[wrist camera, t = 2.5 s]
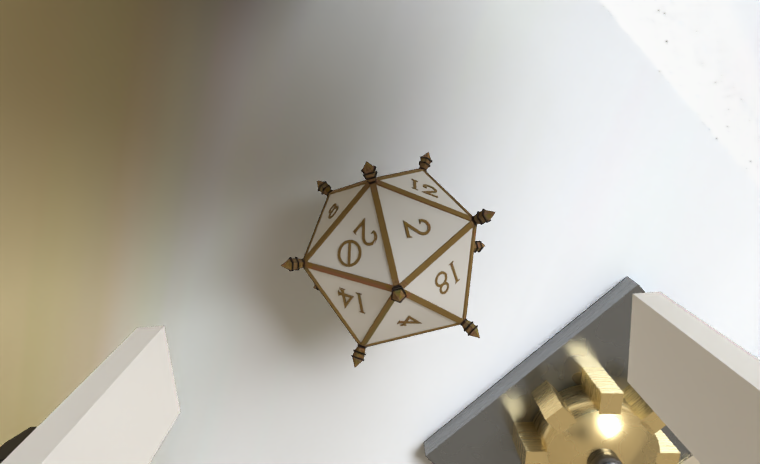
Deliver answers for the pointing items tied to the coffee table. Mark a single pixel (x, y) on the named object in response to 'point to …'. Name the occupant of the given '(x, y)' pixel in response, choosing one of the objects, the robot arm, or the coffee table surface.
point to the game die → (393, 256)
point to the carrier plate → (546, 361)
